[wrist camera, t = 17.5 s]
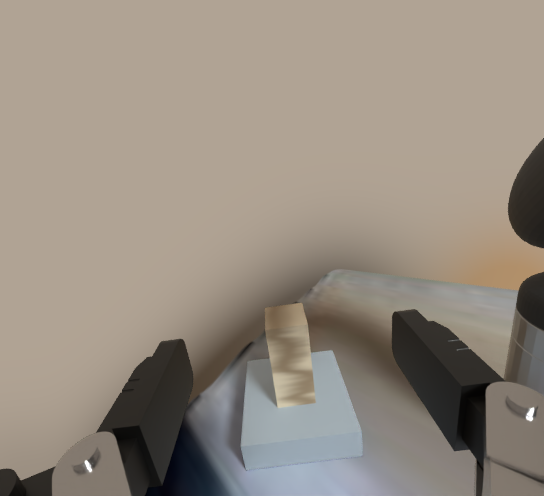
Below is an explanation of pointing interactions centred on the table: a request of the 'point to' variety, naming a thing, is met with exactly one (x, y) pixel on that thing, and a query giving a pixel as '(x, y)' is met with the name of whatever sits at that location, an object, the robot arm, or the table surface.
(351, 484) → the table surface
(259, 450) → the base
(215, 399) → the table surface
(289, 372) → the beech block
